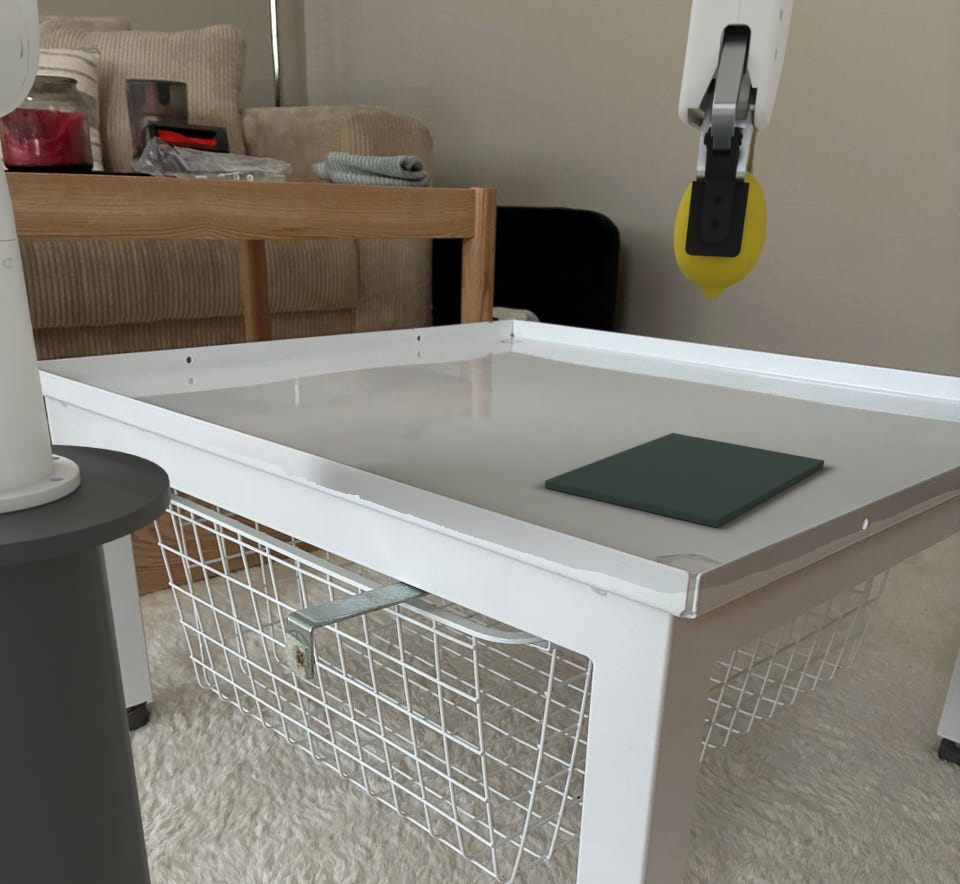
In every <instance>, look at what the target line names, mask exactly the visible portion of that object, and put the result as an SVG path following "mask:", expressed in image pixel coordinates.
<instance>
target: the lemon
mask: <svg viewBox="0 0 960 884" xmlns="http://www.w3.org/2000/svg"><path fill="white" fill-rule="evenodd" d="M693 181H696V177H695V178H694V179H693ZM705 181H706V180H705ZM745 182H746V183H750V185H749V193H748V200H747V208H746V215H745V223H744V230H743V238H742V245H741V251H740V253H739V255H738V256H736V257H733V258H732V257H712V256H692V255H688V254H687V253H686V251H685V245H686V236H687V227H688V218H689V208H690V199H691V190H692V182H691V183H690V184H689V185H688V187H687V188H686V190H685V192H684V194H683V195H682V198H681V200H680V204H679V206H678V209H677V213H676V218H675V223H674V229H673V250H674V256H675V260H676V262H677V265H678V268H679V269H680V271H681V273H682V274H683V275H684V277H685V278H686V279H688V281H690V282H691V283H693V284H694V285H696V286H697V287H699V288H700V290H701V292H702V293H703V295H704V296H705V297H706V298H708V299H711V300H713V299H717V298H718V297H719V296H720V295H721V294H722V293H723V292H725V290H726V289H728V288H729V287H731V286H734V285H736V284H738V283H739V282H741V281H742V280H744V279H745V278H747V276H748V275H749V274H750V272H752V270H753V269H754V267H755V266H756V264H757V263H758V260H759V258H760V256H761V253H762V251H763V248H764V244H765V241H766V234H767V225H768V215H767V214H768V212H767V203H766V197H765V193H764V191H763V188H762V185H761V184H760V182H759V181H758V180H757V179H756V178H755V176H754V175H752V174H750V173H749V172H748V171H747V172H746V178H745Z"/></svg>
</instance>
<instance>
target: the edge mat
mask: <svg viewBox="0 0 960 884" xmlns="http://www.w3.org/2000/svg"><path fill="white" fill-rule="evenodd" d="M824 465H825V460H824V459H819V458H813V457H808V456H802V455H798V454H793V453H792V454H791V453H786V452H780V451H775V450H770V449H765V448H764V449H763V448H759V447H753V446H747V445H741V444H738V443H737V444H736V443H731V442H726V441H720V440H714V439H710V438H709V439H707V438H704V437H698V436H693V435H685V434H681V433H677V432H672V433H669V434H666V435H663V436H661V437H658V438H656V439H652V440H650V441H647V442H645V443H642V444H639V445H637V446H633V447H631V448H628V449H626V450H623V451H620V452H618V453H615V454H612V455H610V456H607V457H603V458H602V459H599V460H597V461H594V462H591V463H588V464H586V465H582V466H580V467H578V468H574V469H573V470H569V471H567V472H564V473H562V474H559V475H556V476H554V477H551V478H548V479H546V480H544V481H545V483H544V487H545V488H546V489H550V490H553V491H558V492H563V493H567V494H571V495H576V496H580V497H585V498H588V499H593V500H596V501H601V502H606V503H611V504H615V505H618V506H623V507H626V508H631V509H636V510H640V511H644V512H649V513H653V514H657V515H662V516H666V517H669V518H675V519H679V520H683V521H688V522H692V523H696V524H700V525H705V526H708V527H713V528H719V527H720V526H722V525H724V524H725V523H727V522H729V521H732V520H733V519H734V518H736V517H738V516H740V515H741V514H744V513H745V512H747V511H748V510H750V509H752V508H753V507H756V506H758V505H759V504H761V503H763V502H765V501H766V500H768V499H769V498H771V497H773V496H776V494H778V493H780V492H782V491H784V490H786V489H787V488H789V487H791V486H792V485H794V484H796V483H798V482H799V481H801V480H803V479H805V478H806V477H809V476H810V475H812V474H813V473H815V472H818V470H821V469H823V467H824Z"/></svg>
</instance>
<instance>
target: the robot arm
mask: <svg viewBox="0 0 960 884" xmlns="http://www.w3.org/2000/svg"><path fill="white" fill-rule="evenodd" d="M793 7H794V0H692V1H691V8H690V16H689V24H688V33H687V40H686V49H685V57H684V64H683V72H682V79H681V86H680V93H679V100H678V109H677V115H678V118H679V119H680V121H681V122H682V123H683V124H684V125H685V126H686V127H688V128H690V129H691V130H694V131H701V135H700V142H699V148H698V149H699V150H698V156H697V163H696V169H695V170H696V171H695V178H696V181H694V180H692V181H691V183H692V190H691V199H690V208H689V218H688V227H687V236H686V245H685V251H686V253H687V254H688V255H692V256H712V257H732V258H733V257H736V256H738V255H739V253H740V251H741V245H742V238H743V230H744V223H745V215H746V208H747V200H748V193H749V185H750V183H746V182H745V178H746V172H747V171H748V172H749V173H750V174H752V175H753V174H754V167H755V159H756V158H755V157H756V150H757V142H758V141H757V140H758V135H759V132H762V131H763V130H764V129H766V128H767V127H768V126H769V125H770V122H771V120H772V114H773V110H774V106H775V103H776V98H777V94H778V89H779V84H780V81H781V77H782V76H781V75H782V72H783V66H784V62H785V61H784V60H785V56H786V55H785V54H786V50H787V44H788V38H789V34H790V33H789V32H790V27H791V20H792V13H793ZM39 17H40V15H39V7H38V0H0V118H2V117H5V116H8V115H9V114H10V113H12V112H13V111H14V110H16V109H17V108H18V107H19V106H20V105H21V104H22V103H23V102H24V101H25V100H26V98H27V97H28V95H29V93H30V91H31V90H32V88H33V86H34V83H35V81H36V77H37V73H38V68H39V64H40V49H41V35H40V34H41V33H40V18H39ZM753 176H754V175H753ZM705 180H706V181H705ZM11 198H12V197H11V194H10V188H9V184H8V180H7V176H6V172H5V168H4V164H3V161H2V157H1V156H0V514H4V513H10V512H15V511H21V510H25V509H29V508H34V507H38V506H41V505H45V504H48V503H51V502H54V501H56V500H59V499H61V498H63V497H66V496H67V495H69V494H71V493H72V492H74V491H75V490H76V489H77V488H78V486H79V485H80V482H81V477H80V472H79V467H78V465H77V464H76V463H75V462H73V461H72V460H69V459H67V458H65V457H62V456H58V455H54V454H52V450H51V445H52V443H51V438H50V433H49V432H50V431H49V425H48V418H47V414H46V413H47V412H46V407H45V401H44V393H43V388H42V382H41V375H40V374H41V373H40V368H39V361H38V356H37V349H36V343H35V337H34V332H33V331H34V330H33V325H32V319H31V318H32V317H31V312H30V306H29V301H28V300H29V298H28V293H27V287H26V282H25V281H26V280H25V273H24V268H23V262H22V255H21V250H20V248H21V247H20V242H19V237H18V232H17V227H16V220H15V214H14V208H13V202H12V199H11Z"/></svg>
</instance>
